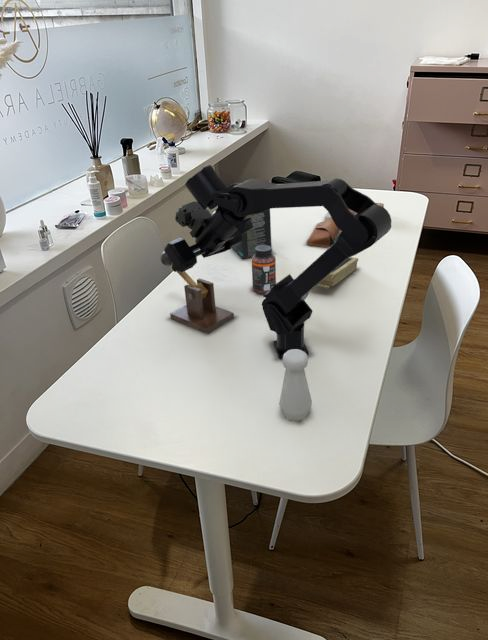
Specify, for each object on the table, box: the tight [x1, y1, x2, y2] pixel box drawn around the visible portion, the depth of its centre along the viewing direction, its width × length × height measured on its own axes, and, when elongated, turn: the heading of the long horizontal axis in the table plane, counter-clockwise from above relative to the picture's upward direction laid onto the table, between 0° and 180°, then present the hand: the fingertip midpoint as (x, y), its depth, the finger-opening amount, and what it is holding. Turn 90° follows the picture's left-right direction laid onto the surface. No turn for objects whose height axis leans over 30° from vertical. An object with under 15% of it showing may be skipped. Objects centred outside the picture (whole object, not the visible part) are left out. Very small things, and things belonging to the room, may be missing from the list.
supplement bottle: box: [251, 245, 277, 295], centre depth 140 cm, size 6×6×11 cm
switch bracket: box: [169, 278, 235, 335], centre depth 129 cm, size 12×9×9 cm
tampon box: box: [232, 209, 273, 259], centre depth 161 cm, size 11×9×15 cm
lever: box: [160, 250, 208, 299], centre depth 129 cm, size 14×4×4 cm
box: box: [315, 256, 359, 289], centre depth 147 cm, size 8×22×5 cm, turn 155°
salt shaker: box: [278, 349, 313, 422], centre depth 98 cm, size 6×6×13 cm
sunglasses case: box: [306, 217, 341, 249], centre depth 172 cm, size 18×7×7 cm, turn 165°
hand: (188, 262), depth 126 cm, fingers open, 9 cm apart
